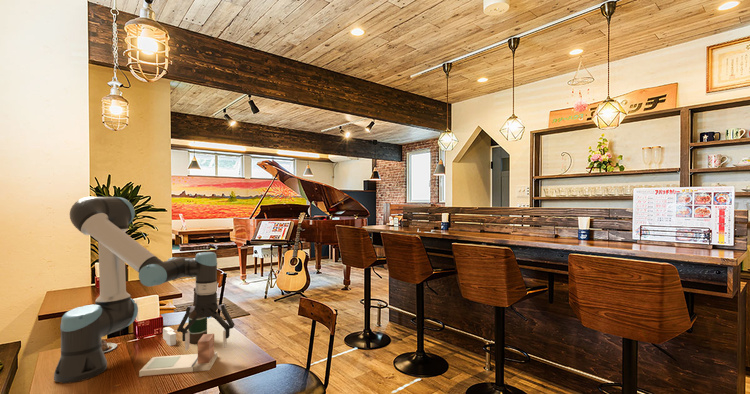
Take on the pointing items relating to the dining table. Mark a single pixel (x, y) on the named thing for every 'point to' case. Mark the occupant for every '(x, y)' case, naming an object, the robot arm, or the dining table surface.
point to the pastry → (107, 346)
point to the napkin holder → (169, 336)
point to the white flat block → (169, 365)
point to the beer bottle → (196, 325)
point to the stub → (205, 353)
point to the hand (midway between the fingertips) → (206, 348)
